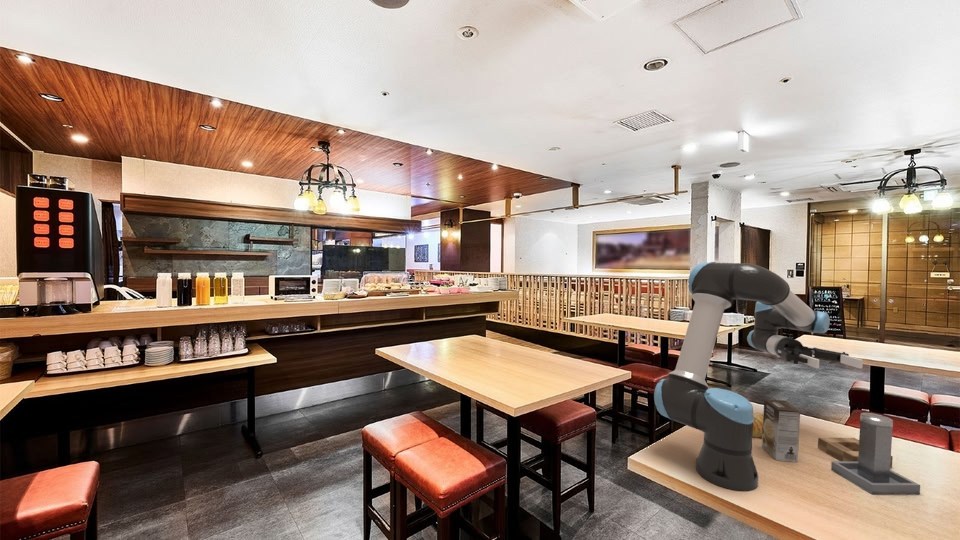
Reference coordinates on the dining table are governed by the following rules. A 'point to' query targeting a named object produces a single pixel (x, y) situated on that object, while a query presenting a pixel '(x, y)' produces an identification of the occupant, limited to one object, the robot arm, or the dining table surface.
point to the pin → (875, 447)
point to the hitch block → (841, 448)
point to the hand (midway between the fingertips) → (839, 364)
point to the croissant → (758, 426)
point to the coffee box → (781, 430)
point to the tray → (895, 485)
